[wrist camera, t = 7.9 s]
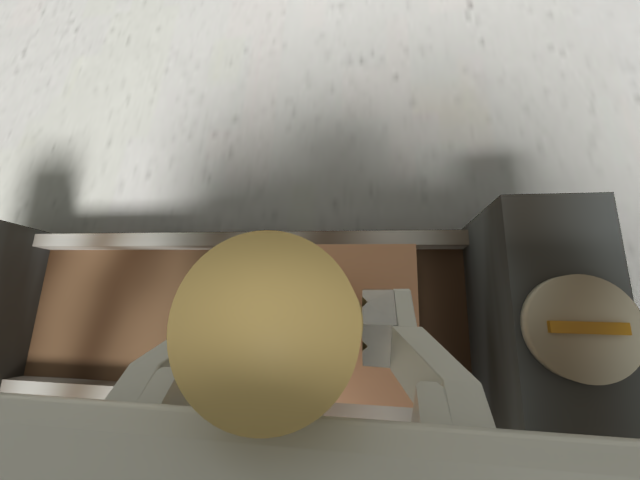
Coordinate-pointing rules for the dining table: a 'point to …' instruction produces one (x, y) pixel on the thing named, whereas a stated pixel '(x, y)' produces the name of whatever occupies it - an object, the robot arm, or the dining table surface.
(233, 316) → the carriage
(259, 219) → the dining table surface
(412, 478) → the robot arm
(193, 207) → the dining table surface
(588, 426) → the rail track
